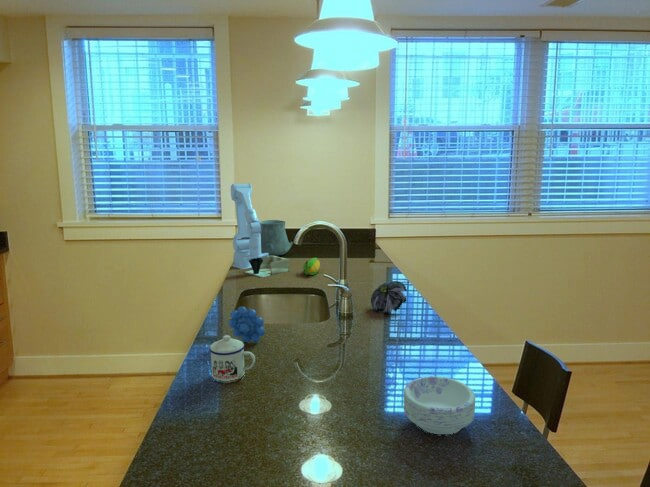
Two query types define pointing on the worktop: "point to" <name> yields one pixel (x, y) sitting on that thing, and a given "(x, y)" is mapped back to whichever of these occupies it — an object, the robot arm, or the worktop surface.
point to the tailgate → (261, 274)
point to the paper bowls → (439, 404)
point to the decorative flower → (388, 297)
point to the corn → (311, 266)
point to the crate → (274, 265)
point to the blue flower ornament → (246, 324)
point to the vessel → (274, 238)
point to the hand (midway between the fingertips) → (256, 273)
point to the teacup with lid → (229, 359)
